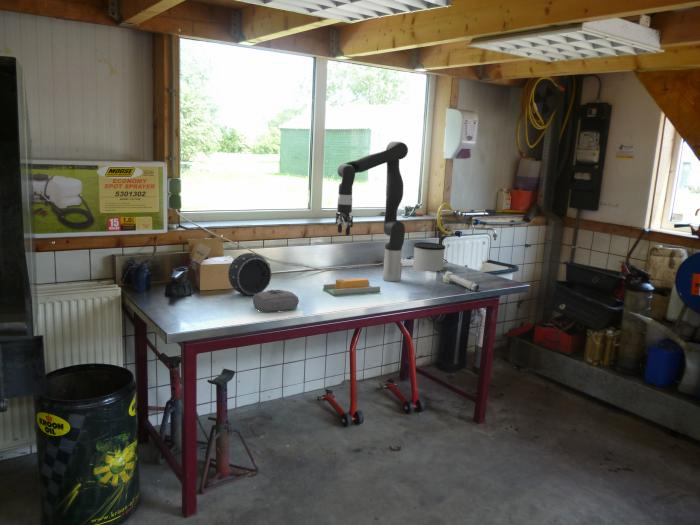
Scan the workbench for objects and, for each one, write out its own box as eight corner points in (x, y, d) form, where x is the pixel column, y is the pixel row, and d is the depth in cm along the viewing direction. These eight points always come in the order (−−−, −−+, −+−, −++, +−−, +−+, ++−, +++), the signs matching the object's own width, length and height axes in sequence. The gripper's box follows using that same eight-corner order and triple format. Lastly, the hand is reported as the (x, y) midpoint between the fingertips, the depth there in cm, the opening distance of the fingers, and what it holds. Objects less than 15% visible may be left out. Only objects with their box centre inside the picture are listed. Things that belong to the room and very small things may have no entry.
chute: (362, 287, 307) (363, 277, 306) (368, 289, 301) (369, 280, 300) (335, 289, 299) (335, 279, 298) (340, 291, 294) (341, 282, 293)
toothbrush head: (473, 285, 313) (442, 269, 332) (471, 296, 315) (440, 280, 334) (481, 284, 316) (449, 268, 335) (478, 295, 318) (447, 279, 337)
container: (436, 273, 354) (438, 248, 351) (407, 268, 363) (409, 244, 360) (447, 268, 370) (449, 245, 367) (420, 264, 379) (421, 241, 376)
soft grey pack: (262, 315, 252) (304, 310, 263) (262, 296, 251) (305, 292, 261) (249, 306, 265) (289, 302, 275) (249, 288, 263) (290, 284, 273)
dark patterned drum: (273, 295, 285) (274, 254, 281) (235, 299, 273) (235, 257, 270) (263, 289, 294) (264, 250, 290) (225, 294, 282) (225, 252, 278)
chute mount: (367, 286, 312) (368, 281, 312) (380, 292, 301) (380, 286, 300) (322, 289, 300) (323, 284, 299) (334, 296, 289) (334, 290, 288)
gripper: (357, 204, 305) (356, 235, 308) (344, 201, 317) (343, 231, 320) (345, 204, 301) (343, 236, 305) (332, 201, 313) (330, 232, 317)
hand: (343, 233), depth 312 cm, fingers open, 8 cm apart
